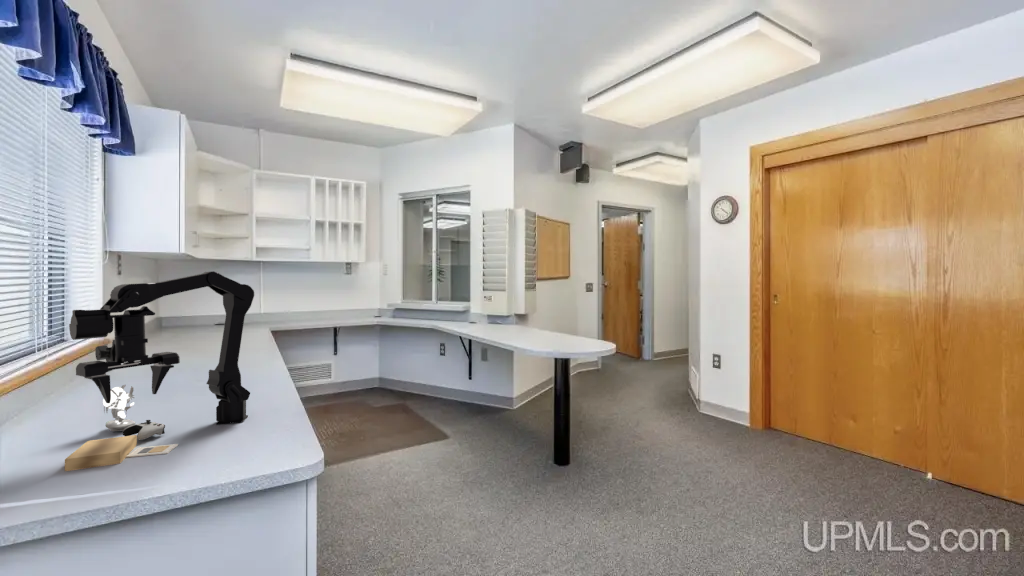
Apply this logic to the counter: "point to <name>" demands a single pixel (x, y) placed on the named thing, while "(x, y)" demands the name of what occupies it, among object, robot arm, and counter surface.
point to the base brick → (101, 452)
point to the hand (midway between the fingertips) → (132, 398)
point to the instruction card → (152, 450)
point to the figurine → (119, 409)
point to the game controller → (144, 430)
